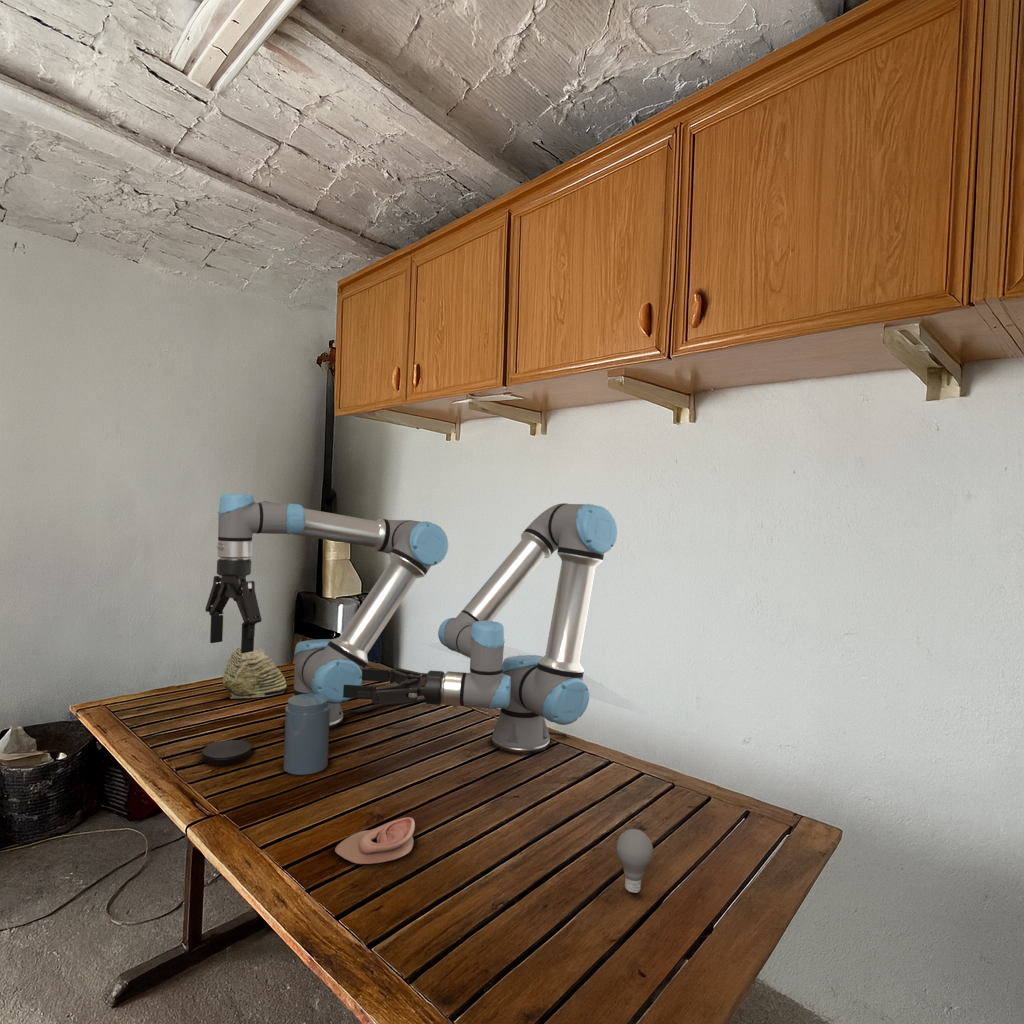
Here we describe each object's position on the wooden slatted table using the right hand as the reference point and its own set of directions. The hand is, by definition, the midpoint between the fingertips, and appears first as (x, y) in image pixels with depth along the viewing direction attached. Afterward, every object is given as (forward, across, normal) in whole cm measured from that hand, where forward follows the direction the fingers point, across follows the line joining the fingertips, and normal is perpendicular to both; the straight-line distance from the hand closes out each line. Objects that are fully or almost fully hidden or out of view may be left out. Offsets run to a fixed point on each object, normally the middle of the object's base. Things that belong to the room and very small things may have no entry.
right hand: (353, 682), depth 147 cm
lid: (+31, +2, -19) cm, 36 cm away
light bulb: (-61, -38, -20) cm, 75 cm away
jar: (+11, 0, -20) cm, 23 cm away
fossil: (+46, +47, -20) cm, 69 cm away
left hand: (+31, +2, +6) cm, 31 cm away
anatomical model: (-15, -32, -20) cm, 41 cm away
